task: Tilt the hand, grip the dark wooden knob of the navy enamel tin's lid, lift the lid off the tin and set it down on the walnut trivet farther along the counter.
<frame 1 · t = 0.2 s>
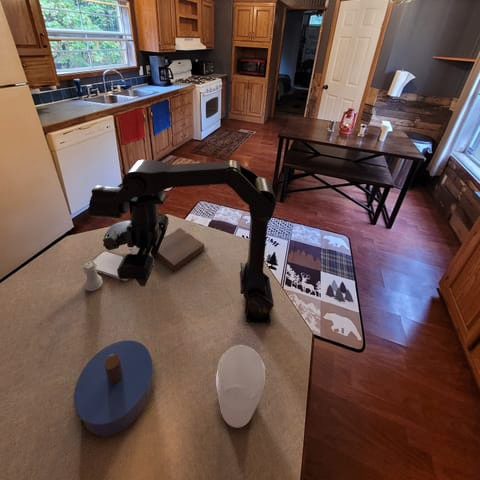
hand: (148, 269, 62), 15 cm above the kitchen counter, tool pointing down, fingers open, 9 cm apart
smartphone: (115, 267, 80), on the kitchen counter
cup: (236, 405, 51), on the kitchen counter
trivet: (177, 250, 88), on the kitchen counter
lid: (115, 378, 49), point 5 cm above the kitchen counter, touching tin
tin: (118, 392, 51), on the kitchen counter
rook chess piece: (94, 285, 73), on the kitchen counter
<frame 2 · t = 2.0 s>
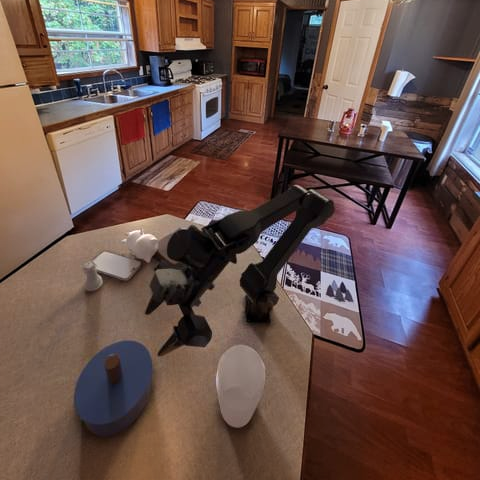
hand: (152, 333, 50), 12 cm above the kitchen counter, tool tilted 45°, fingers open, 9 cm apart
nothing on the kitchen counter moved.
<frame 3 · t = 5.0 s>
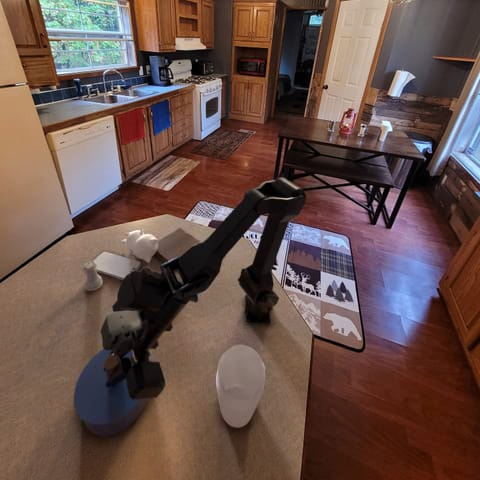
hand: (106, 377, 48), 7 cm above the kitchen counter, tool tilted 45°, fingers closed on lid, 2 cm apart
lid: (115, 378, 49), point 5 cm above the kitchen counter, touching gripper, tin
everything else where it was.
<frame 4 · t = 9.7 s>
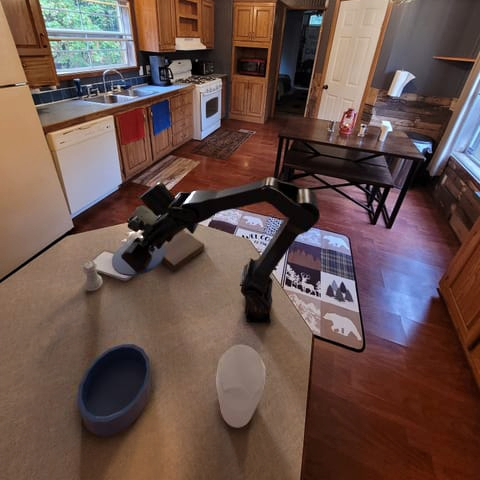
hand: (134, 250, 70), 12 cm above the kitchen counter, tool tilted 45°, fingers closed on lid, 2 cm apart
lid: (139, 256, 70), point 11 cm above the kitchen counter, touching gripper
everything else where it was.
when the fingers open (5 cm above the kitchen counter, at t = 14.3 s): lid stays where it is, resting on trivet.
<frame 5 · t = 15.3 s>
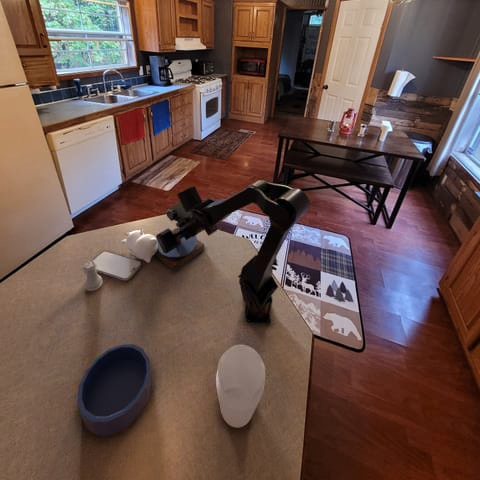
hand: (174, 235, 87), 6 cm above the kitchen counter, tool tilted 45°, fingers open, 9 cm apart
lid: (177, 243, 87), point 3 cm above the kitchen counter, touching trivet
everything else where it was.
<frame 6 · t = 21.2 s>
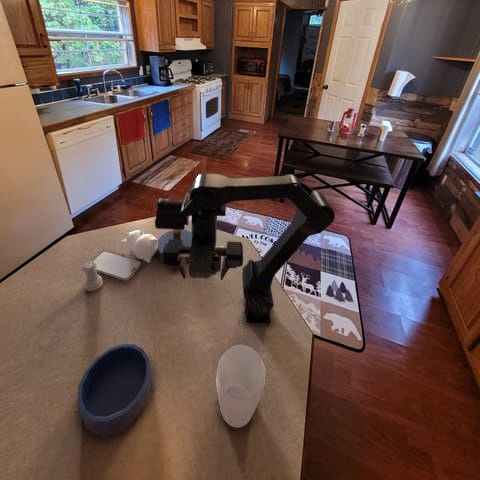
hand: (203, 278, 64), 12 cm above the kitchen counter, tool pointing down, fingers open, 9 cm apart
nothing on the kitchen counter moved.
at the end: lid inside the target area on the trivet (0.0 cm from its centre), point 3.1 cm above the trivet's base; lid tilted 0°; the gripper is holding nothing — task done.
